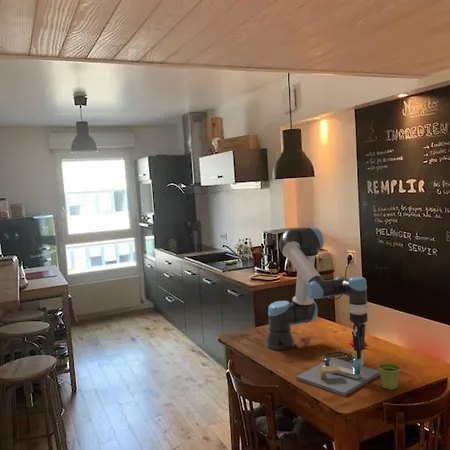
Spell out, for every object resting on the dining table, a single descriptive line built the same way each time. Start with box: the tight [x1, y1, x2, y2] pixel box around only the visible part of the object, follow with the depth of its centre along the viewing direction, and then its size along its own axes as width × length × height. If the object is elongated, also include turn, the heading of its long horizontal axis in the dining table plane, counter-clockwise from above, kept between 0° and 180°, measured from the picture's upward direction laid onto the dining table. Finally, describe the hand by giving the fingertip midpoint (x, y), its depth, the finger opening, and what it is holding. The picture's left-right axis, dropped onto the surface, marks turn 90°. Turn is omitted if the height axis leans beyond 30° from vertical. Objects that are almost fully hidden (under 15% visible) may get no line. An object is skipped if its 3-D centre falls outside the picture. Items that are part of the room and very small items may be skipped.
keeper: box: [318, 366, 341, 380], centre depth 209 cm, size 5×8×4 cm, turn 93°
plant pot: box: [376, 362, 402, 390], centre depth 201 cm, size 9×9×9 cm
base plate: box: [295, 357, 380, 397], centre depth 213 cm, size 25×29×2 cm
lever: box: [319, 357, 362, 379], centre depth 213 cm, size 19×5×8 cm, turn 46°
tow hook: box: [348, 339, 366, 347], centre depth 254 cm, size 8×13×9 cm
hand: (359, 364), depth 210 cm, fingers closed
